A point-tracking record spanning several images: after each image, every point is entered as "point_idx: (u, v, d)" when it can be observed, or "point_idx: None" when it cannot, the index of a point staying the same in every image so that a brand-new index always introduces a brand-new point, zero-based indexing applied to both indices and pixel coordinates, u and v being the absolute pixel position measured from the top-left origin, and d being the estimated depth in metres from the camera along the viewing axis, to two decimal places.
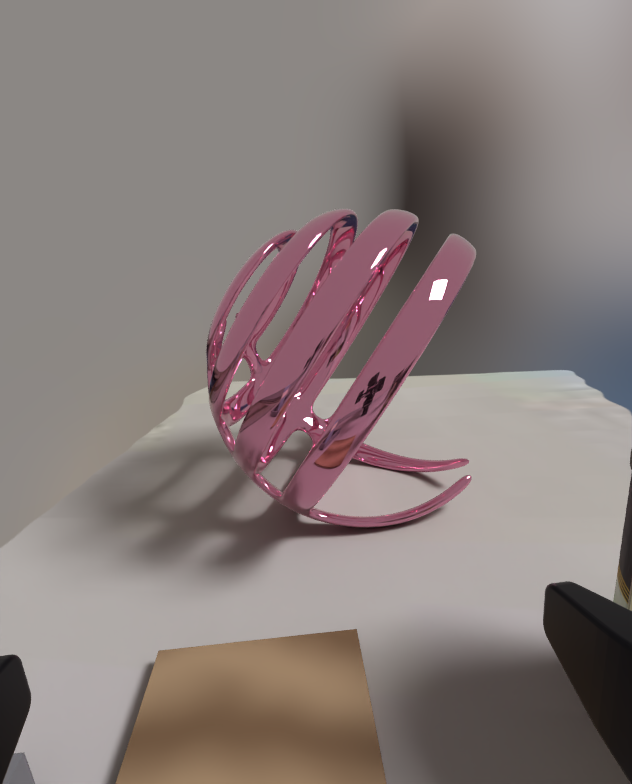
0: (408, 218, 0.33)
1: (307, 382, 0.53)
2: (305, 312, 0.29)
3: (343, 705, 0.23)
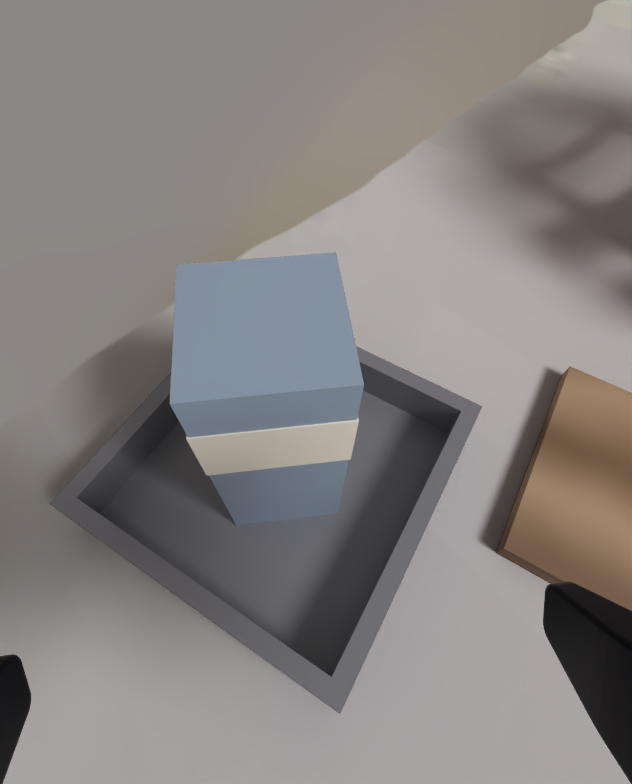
0: None
1: None
2: None
3: None
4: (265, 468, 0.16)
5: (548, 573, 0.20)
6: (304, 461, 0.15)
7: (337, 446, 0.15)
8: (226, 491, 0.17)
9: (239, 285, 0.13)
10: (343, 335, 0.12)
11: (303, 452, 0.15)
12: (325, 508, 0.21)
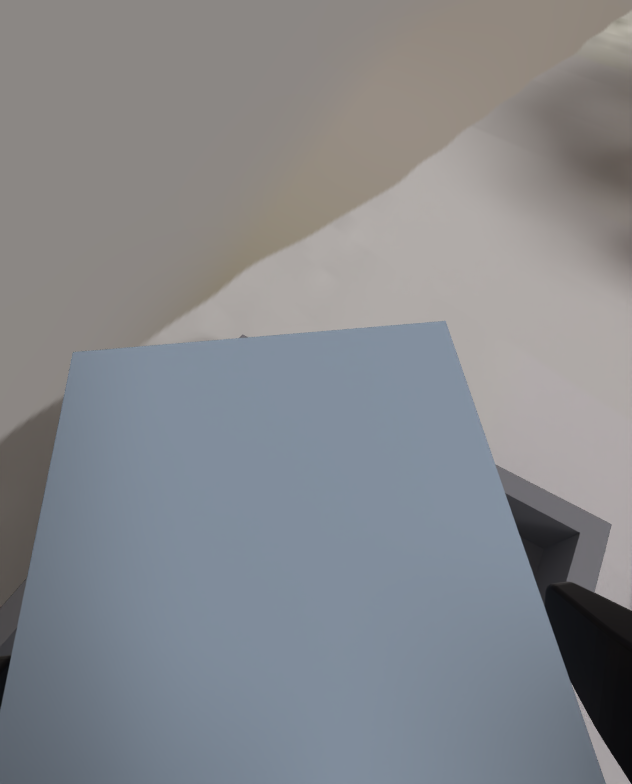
0: None
1: None
2: None
3: None
4: None
5: None
6: None
7: None
8: None
9: (220, 412, 0.05)
10: (506, 580, 0.04)
11: None
12: None
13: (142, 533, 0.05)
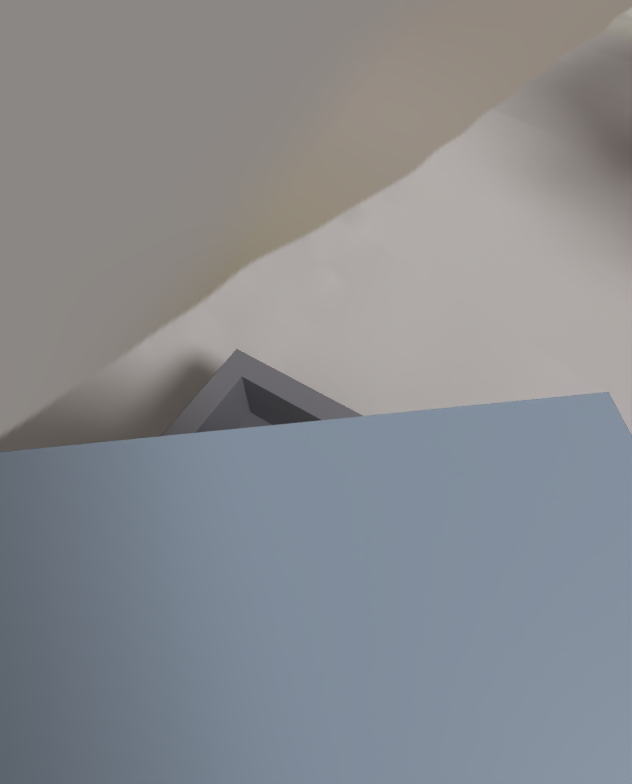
0: None
1: None
2: None
3: None
4: None
5: None
6: None
7: None
8: None
9: (158, 621, 0.02)
10: None
11: None
12: None
13: None
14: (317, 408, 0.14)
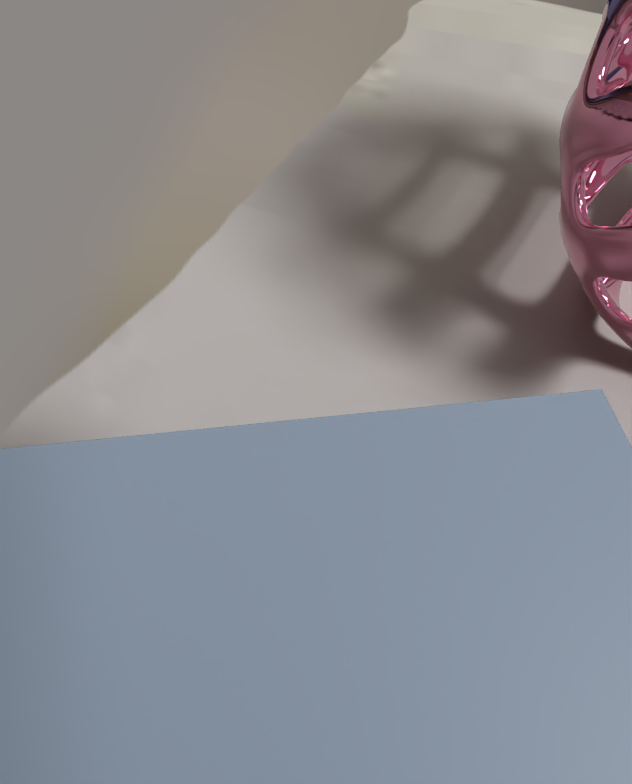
0: None
1: None
2: None
3: None
4: None
5: None
6: None
7: None
8: None
9: (152, 617, 0.02)
10: None
11: None
12: None
13: None
14: None
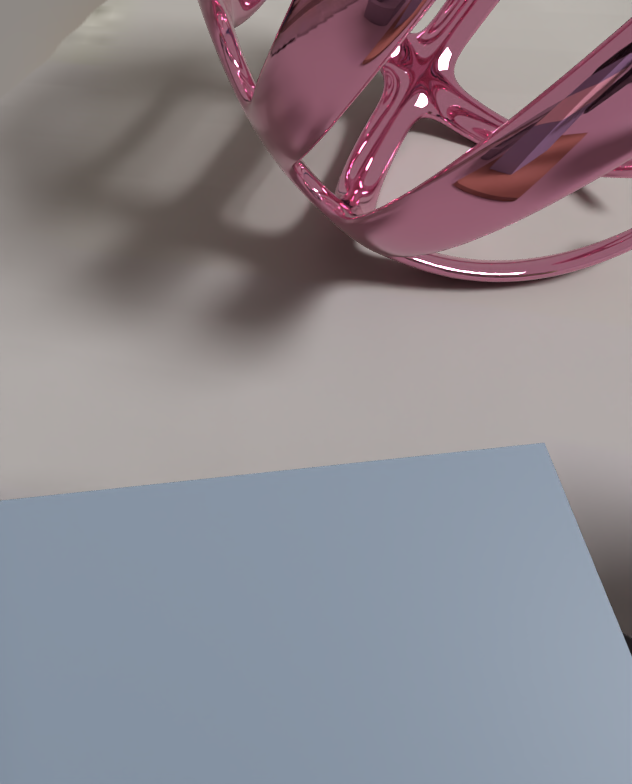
0: None
1: None
2: None
3: None
4: None
5: None
6: None
7: None
8: None
9: (196, 624, 0.03)
10: None
11: None
12: None
13: None
14: None
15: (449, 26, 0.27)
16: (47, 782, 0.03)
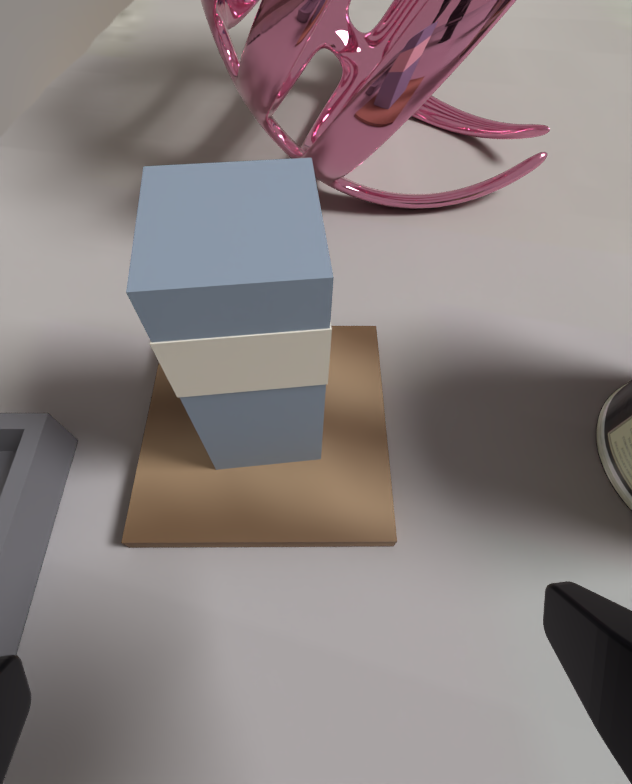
0: None
1: None
2: None
3: (356, 397, 0.23)
4: (238, 391, 0.15)
5: (170, 542, 0.19)
6: (278, 383, 0.15)
7: (311, 364, 0.14)
8: (201, 422, 0.17)
9: (207, 185, 0.13)
10: (314, 232, 0.12)
11: (276, 371, 0.14)
12: (307, 452, 0.20)
13: (177, 219, 0.12)
14: None
15: (390, 27, 0.37)
16: (173, 206, 0.12)
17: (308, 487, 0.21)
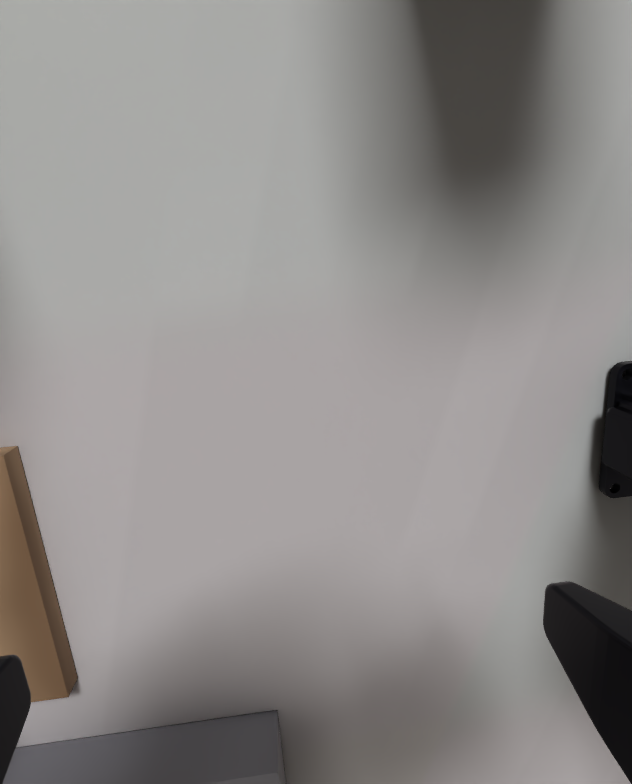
0: None
1: None
2: None
3: None
4: None
5: (58, 659, 0.20)
6: None
7: None
8: None
9: None
10: None
11: None
12: None
13: None
14: None
15: None
16: None
17: None
